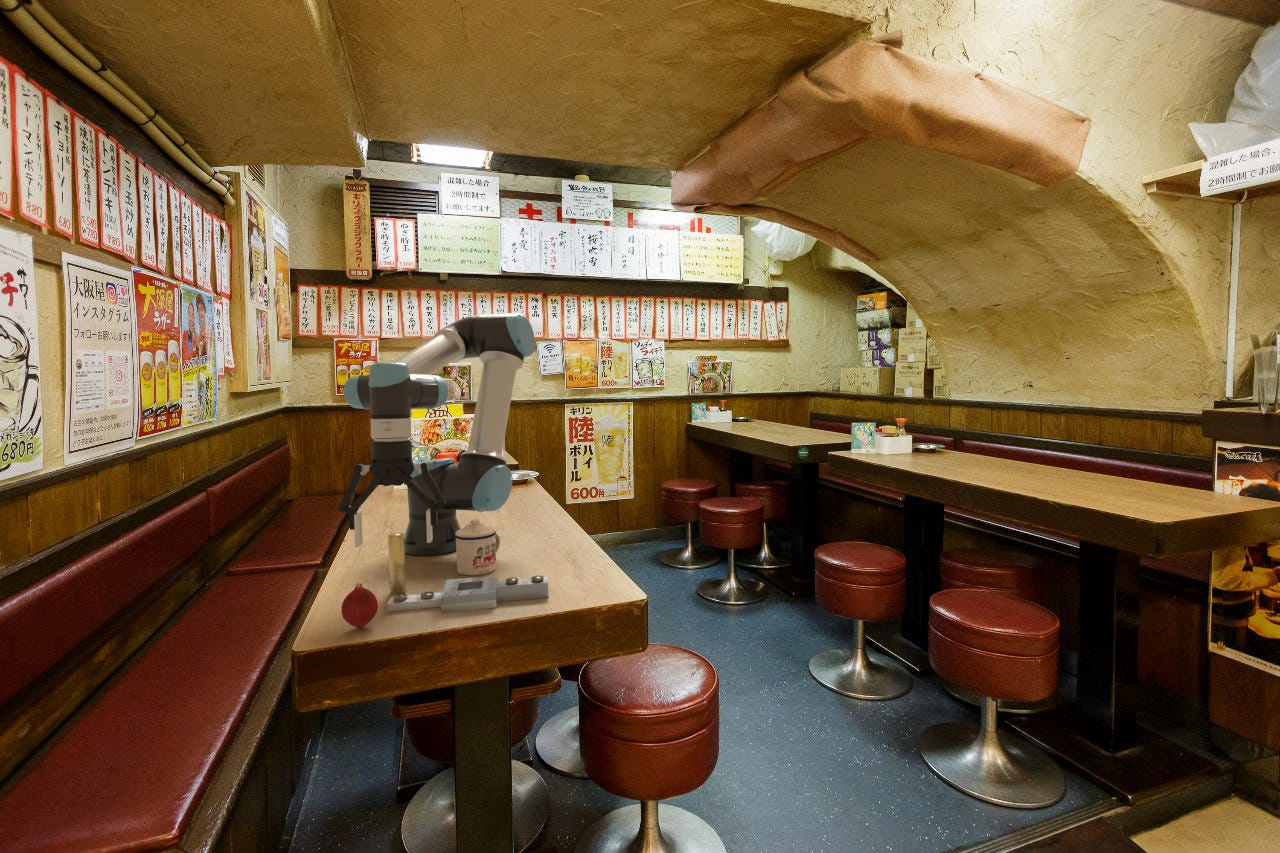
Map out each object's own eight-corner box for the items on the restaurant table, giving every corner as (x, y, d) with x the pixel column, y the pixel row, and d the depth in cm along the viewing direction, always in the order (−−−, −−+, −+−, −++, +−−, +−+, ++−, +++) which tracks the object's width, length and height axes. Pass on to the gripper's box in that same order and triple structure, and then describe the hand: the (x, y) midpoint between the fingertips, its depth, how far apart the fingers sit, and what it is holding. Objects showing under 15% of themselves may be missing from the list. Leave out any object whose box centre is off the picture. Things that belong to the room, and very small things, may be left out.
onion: (384, 627, 104) (382, 582, 104) (351, 638, 100) (348, 591, 100) (370, 618, 108) (368, 576, 108) (337, 628, 104) (334, 584, 103)
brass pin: (392, 590, 124) (389, 533, 123) (407, 588, 124) (404, 532, 123) (389, 595, 121) (386, 536, 120) (404, 593, 121) (402, 535, 120)
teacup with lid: (476, 578, 130) (474, 526, 129) (447, 572, 135) (445, 522, 134) (514, 564, 140) (512, 515, 139) (486, 558, 145) (484, 511, 144)
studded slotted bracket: (394, 598, 119) (393, 580, 118) (546, 585, 125) (546, 569, 125) (384, 617, 109) (383, 598, 108) (549, 602, 115) (548, 584, 115)
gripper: (318, 442, 114) (322, 551, 115) (454, 439, 119) (456, 543, 120) (330, 439, 121) (333, 542, 122) (457, 436, 126) (459, 535, 128)
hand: (394, 543), depth 121 cm, fingers open, 13 cm apart
